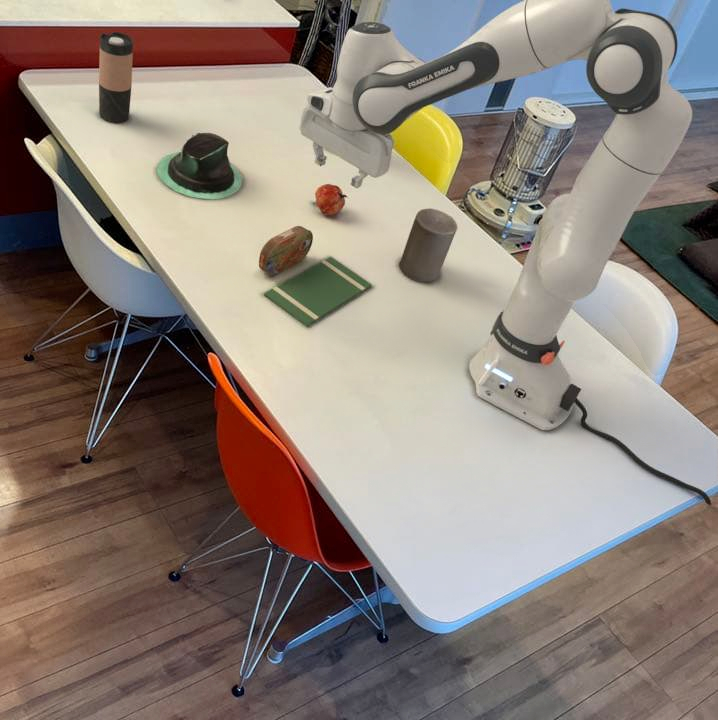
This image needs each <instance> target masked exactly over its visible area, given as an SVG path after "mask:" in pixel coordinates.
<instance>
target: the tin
mask: <svg viewBox="0 0 718 720" xmlns="http://www.w3.org/2000/svg"><path fill="white" fill-rule="evenodd" d="M313 240H314V234H313V232H312V231H311V230H310V229H307V228H306V227H304V226H301V225H297V226H296V225H295V226H293V227H292V228H291V227H290V228H289V229H287V230H285V231H284V232H281V233H279V234H277V235H276V236H274V237H272V238H270V239H269V240H267V242H266V243H264V245H263V247H262V248H261V251H260V253H259V259H258V267H259V269H260V270H261V271H263V273H266V275H268V276H269V277H275V276H277V275H280V274H281V273H283V272H285V271H287V270H288V269H290V268H292V267H294V266H296V265H298V264H299V263H301V262H302V261H303V260H304V259H305V258H306V257H307V255H308V254H309V252H310V250H311V248H312V245H313Z"/></svg>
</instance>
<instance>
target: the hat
mask: <svg viewBox="0 0 718 720" xmlns="http://www.w3.org/2000/svg"><path fill="white" fill-rule="evenodd" d="M229 145H230V143H229V141H228V140H227V139H225V138H224V137H222V136H220V135H218V134H215V133H212V132H196V133H195V134H192V135H191V137H190V138H188V139H186V140H185V141H184V142H183V144H182V148H181V150H180V151H178V152H175V153H170V154H168V155H165V156H164V157H162V158H161V159H160V160H159V162H158V164H157V168H156V172H157V176H158V177H159V179H160V180H161V182H162V183H163V184H164V185H165V186H167V187H169V188H170V189H171V190H173V191H175V192H176V193H179V194H182V195H184V196H186V197H192V198H196V199H206V200H218V199H224V198H228V197H231V196H232V195H235V193H237V192H238V191H239V190H240V189H241V187H242V186H243V185H242V184H243V179H242V175H241V174H240V173H241V172H240V171H238V169H237V168H236V167H235V166H234V165H232V164H231V163H230V160H229V156H228V148H229Z"/></svg>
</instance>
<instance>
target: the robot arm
mask: <svg viewBox="0 0 718 720" xmlns="http://www.w3.org/2000/svg"><path fill="white" fill-rule="evenodd" d="M677 52H678V37H677V33H676V30H675V28H674V26H673V25H672V24H671V22H670V21H669V20H667V18H665V17H663V16H662V15H659V14H656V13H653V12H650V11H649V12H648V11H641V10H635V9H629V8H619V9H617V10H615V11H614V9H613V6H612V4H611V1H610V0H522V1H520V2H517V3H516V4H514V5H512V6H510V7H508V8H507V9H506V10H504V11H502V12H500V13H499V14H498V15H496V16H495V17H494V18H492V19H490V20H489V21H488V22H487V23H486V24H484V25H483V26H481V28H480V29H478V30H477V31H476V32H475V33H474V34H472V35H471V36H470V37H469V38H467V39H466V40H465V41H463V43H461V44H460V45H458V46H457V47H455V48H454V49H452V50H451V51H449V52H448V53H446V54H443V55H441V56H439V57H437V58H434V59H433V60H429V61H427V62H426V61H424V60H423V59H421V58H418V57H416V55H414V54H412V53H411V52H410V51H408V49H406V48H405V47H404V46H403V44H401V42H400V41H399V40H398V39H397V37H396V35H395V33H394V31H393V29H392V28H391V27H389V26H388V25H386V24H384V23H381V22H375V21H363V22H359V23H357V24H354V25H353V26H351V27H350V28H349V29H348V30H347V32H346V34H345V37H344V39H343V42H342V45H341V48H340V52H339V57H338V61H337V66H336V81H335V82H334V85H333V86H332V87H325V88H320V89H317V90H314V91H313V92H310V93H308V95H307V98H306V103H307V104H306V105H305V106H304V108H303V110H302V114H301V118H300V122H299V131H300V134H301V135H302V136H303V137H304V138H307V139H308V140H310V141H312V149H313V153H314V156H315V157H314V164H315V165H316V166H319V167H322V166H325V164H326V163H327V162H326V161H327V156H326V155H325V154H324V149H325V150H327V151H328V152H330V153H331V154H333V155H335V156H337V157H338V158H340V159H342V160H343V161H345V162H346V163H348V164H350V165H352V166H353V167H355V168H357V169H358V171H357V173H358V174H359V175H358V174H357V175H355V176H353V177H351V182H350V185H351V186H352V187H354V188H355V189H359V188H361V187H362V185H363V181H364V179H366V178H367V177H368V176H370V177H371V178H373V179H377V178H379V177H382V176H384V175H386V174H387V173H388V172H389V169H390V165H391V159H392V152H393V149H394V146H395V140H394V138H393V136H392V134H391V133H393V132H395V131H396V130H397V129H398V128H399V127H401V126H402V125H403V124H404V122H406V121H408V120H409V119H410V118H412V117H413V116H414V115H416V114H417V113H418V112H420V111H421V110H422V109H424V108H426V107H428V106H430V105H434V104H436V103H438V102H440V101H443V100H446V99H447V98H451V97H453V96H455V95H458V94H460V93H463V92H465V91H468V90H472V89H476V88H479V87H480V88H481V87H484V86H487V85H490V84H495V83H500V82H504V81H509V80H514V79H518V78H522V77H526V76H530V75H534V74H536V73H539V72H542V71H545V70H549V69H551V68H555V67H556V66H559V65H562V64H564V63H567V62H570V61H575V60H576V61H577V60H579V61H580V60H581V61H586V66H585V67H586V68H585V71H586V78H587V81H588V84H589V85H590V87H591V89H592V90H593V91H594V92H595V94H596V95H597V96H598V97H599V98H600V99H602V100H603V101H604V102H605V103H606V104H607V105H608V106H609V108H610V109H611V110H612V111H613V113H615V117H614V119H613V121H612V122H611V124H610V125H609V127H608V129H607V130H606V131H605V133H604V135H603V136H602V138H601V139H600V140H599V142H598V144H597V145H596V147H595V148H594V150H593V151H592V153H591V155H590V157H589V158H588V159H587V161H586V162H585V164H584V165H583V167H582V168H581V170H580V172H579V173H578V175H577V177H576V179H575V182H574V183H573V187H572V189H571V191H570V193H568V192H567V193H564V194H560V195H558V196H556V197H555V198H553V200H552V201H550V203H548V205H547V207H546V208H545V210H544V212H543V215H542V217H541V219H540V222H539V224H538V227H537V229H536V231H535V234H534V236H533V239H532V241H531V244H530V247H529V250H528V252H527V255H526V257H525V260H524V263H523V266H522V269H521V271H520V274H519V277H518V279H517V282H516V284H515V285H514V289H513V290H512V293H511V295H510V297H509V299H508V301H507V303H506V305H505V307H504V308H503V310H502V311H500V313H499V314H498V315H497V317H496V319H495V321H494V324H493V325H492V329H491V331H490V333H489V335H490V336H489V337H488V339H487V340H486V342H485V343H484V345H483V346H482V347H481V348H480V349H479V351H478V352H477V353H476V354H475V355H474V356H473V357H472V358H471V359H470V361H469V365H468V366H469V367H468V369H469V373H470V377H471V378H472V381H473V382H474V384H475V392H476V395H477V396H478V397H479V398H480V399H482V400H484V401H486V402H488V403H490V404H492V405H493V406H495V407H497V408H498V409H501V410H503V411H505V412H506V413H508V414H510V415H512V416H514V417H516V418H517V419H520V420H521V421H523V422H525V423H527V424H529V425H531V426H533V427H535V428H536V429H539V430H541V431H550V430H554V429H556V428H558V427H559V426H561V425H562V424H563V423H564V422H565V421H566V420H567V419H568V418H569V416H570V414H571V413H572V411H573V408H574V405H576V406H577V407H578V409H580V411H581V413H582V414H581V417H580V424H581V426H582V427H583V428H584V429H585V430H587V431H588V432H590V433H592V434H595V435H596V436H598V437H601V438H603V439H606V440H608V441H611V442H612V443H614V444H615V445H617V446H618V447H619V448H620V449H621V450H622V451H623V452H625V453H626V454H627V456H629V457H630V458H631V459H632V460H633V461H634V462H635V463H637V464H638V465H639V466H640V467H642V468H643V469H645V470H647V471H648V472H649V473H651V474H654V475H655V476H657V477H660V478H662V479H664V480H667V481H669V482H671V483H673V484H674V485H677V486H679V487H681V488H683V489H686V490H688V491H691V492H693V493H695V494H698V495H699V496H700V497H702V498H703V500H704V501H705V504H706V505H708V506H711V505H712V500H711V498H710V497H709V495H708V494H707V493H706V492H705V491H704V490H702V489H700V488H699V487H696V486H694V485H691V484H689V483H686V482H684V481H682V480H679V479H678V478H676V477H673V476H671V475H670V474H667V473H664V472H662V471H660V470H658V469H656V468H654V467H653V466H650V465H649V464H647V463H646V462H644V461H643V460H642V459H640V457H638V456H637V455H636V454H635V453H634V452H633V451H632V450H631V449H630V448H629V447H628V446H627V445H626V444H624V443H623V442H622V441H621V440H619V439H618V438H616V437H614V436H612V435H610V434H608V433H605V432H602V431H600V430H597V429H595V428H592V427H591V426H590V425H588V424H587V422H586V420H587V418H588V411H587V409H586V407H585V406H584V404H583V403H582V402H581V401H580V400H579V398H578V396H579V394H580V392H581V391H582V388H581V387H579V386H577V385H576V384H574V383H572V377H571V374H570V373H569V372H568V370H567V368H566V367H565V365H564V363H563V362H562V360H561V358H560V356H559V353H560V351H561V349H562V348H563V346H564V344H565V340H562V341H561V342H560V343H559V340H558V335H557V334H558V333H559V331H560V329H561V327H562V326H563V324H564V323H565V320H566V318H567V317H568V315H569V314H570V312H571V310H572V307H573V305H574V302H576V301H580V300H583V299H585V298H587V297H588V296H590V295H591V294H592V293H593V292H594V291H595V290H596V288H597V287H598V284H599V282H600V279H601V277H602V275H603V272H604V270H605V267H606V265H607V263H608V262H609V260H610V258H611V257H612V255H613V253H614V251H615V249H616V247H617V245H618V244H619V242H620V240H621V238H622V236H623V234H624V232H625V230H626V228H627V226H628V224H629V222H630V220H631V218H632V216H633V215H634V213H635V211H636V210H637V208H638V207H639V205H640V204H641V203H642V201H643V200H644V198H645V197H646V196H647V194H648V193H649V191H650V190H651V188H652V187H653V186H654V184H655V183H656V181H657V180H658V179H659V177H661V175H662V173H663V172H664V171H665V169H666V168H667V166H668V165H669V163H670V162H671V160H672V159H673V157H674V156H675V155H676V153H677V151H678V149H679V147H680V145H681V143H682V142H683V140H684V138H685V136H686V134H687V132H688V130H689V128H690V126H691V123H692V121H693V110H692V106H691V104H690V102H689V100H688V99H687V97H685V95H684V94H682V93H681V92H680V91H678V90H677V89H675V88H673V87H672V85H671V84H670V83H669V81H668V71H669V69H670V68H671V67H672V66H673V64H674V61H675V59H676V57H677Z"/></svg>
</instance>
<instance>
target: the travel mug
mask: <svg viewBox="0 0 718 720" xmlns="http://www.w3.org/2000/svg"><path fill="white" fill-rule="evenodd" d="M133 53H134V40H133V38H132V37H131V36H129V35H128V34H125V33H123V32H119V31H112V32H111V33H105V32H102V33H101V34H100V37H99V63H98V64H99V67H98V111H99V117H100V118H101V119H102V120H103V121H105V122H108V123H112V124H123V123H126V122H127V121H128V120H129V118H130V112H131V111H130V110H131V97H132V85H133V83H132V81H133V58H134V56H133Z"/></svg>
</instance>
